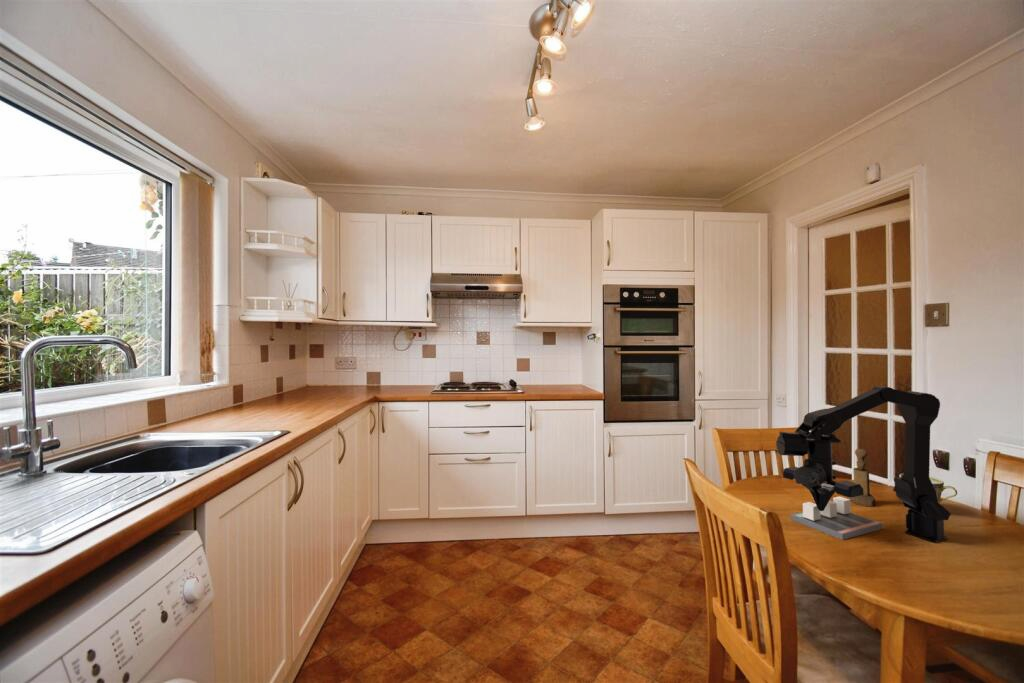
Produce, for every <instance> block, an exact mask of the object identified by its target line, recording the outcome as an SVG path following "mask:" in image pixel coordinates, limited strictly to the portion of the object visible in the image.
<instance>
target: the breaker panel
mask: <svg viewBox="0 0 1024 683" xmlns="http://www.w3.org/2000/svg"><path fill="white" fill-rule="evenodd" d="M790 519H791V520H792V521H794V522H796V523H799V524H802V525H804V526H806V527H809V528H812V529H814V530H817V531H819V532H821V533H824V534H827V535H829V536H831V537H835V538H836V539H839V540H842V541H843V540H847V539H850V538H855V537H858V536H861V535H865V534H868V533H873V532H876V531H879V530H883V529H884V523H883V522H879V521H877V520H873V519H871V518H869V517H865V516H862V515H858V514H855V513H853V512H851V513H848V514H842V513H839V512H837V516H836V517H832V518H829V517H826V516H824V515H821V514H820V519H819V520H815V521H813V520H810V519H808V518H805V517H803V511H800V512H796V513H792V514H790Z"/></svg>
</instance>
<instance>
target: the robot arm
mask: <svg viewBox="0 0 1024 683" xmlns="http://www.w3.org/2000/svg"><path fill="white" fill-rule="evenodd" d="M885 403H892V404H896V405H898V410H899V413H900V415H901V417H902V418H903V420H904V423H905V433H904V434H905V435H904V436H905V438H904V439H905V440H904V445H905V446H904V472H903V473H902V474H903V475H902V477H901V478H900V477H897V476H896V477H894V478H893V482H894V483H893V484H894V488H893V489H892V491H893V492H895V495H896V497H897V499H899V500H900V501H901V502H902V504H903V507H904V508H907V513H906V514H905V528H906V529H905V530H904V533H905V534H908V535H912V536H915V537H918V538H919V539H920V538H921V539H923V540H926V541H929V542H932V543H939V542H941V541H944V540H948V538H949V537H948V536H947V535H945V524H944V522H945V521H949V518H950V517H951V512H950V511H949V510H948V509H947V508H945V507H944V506H943V505H942V504H941V503H938V498H937V493H936V489H935V488H934V486H933V484H932V482H931V480H930V478H929V476H930V460H931V459H930V457H931V456H930V455H931V454H930V453H931V426H932V425H933V423H934V422H935V421H936V420H937V418H938V415H939V412H940V407H941V402H940V400H939V398H938V397H936V396H935V395H934V394H931V393H927V392H921V391H920V392H919V391H914V390H907V391H904V390H899V389H894V388H892V387H890V386H883V385H877V386H873V387H872V388H871V389H870V390H867V391H865V392H863V393H860V394H859V395H856V396H855V397H853V398H850V399H848V400H846V401H844V402H841V403H840V404H838V405H835V406H832V407H829V408H821V409H818V410H815V411H811V412H807V413H806V414H805V415H804V416H803V417H804V418H803V421H802V422H801V423H800V425H799V426H798V427H797V428H796V430H795V431H794V432H787V431H779V432H778V433H779V435H778V436H777V440H776V442H775V443H776V450H777V452H778V454H779V455H780V456H791V457H792V456H793V457H804V456H807V458H804V461H803V465H802V466H800V467H799V466H798V467H797V466H790V467H785V468H784V469H783V471H782V477H783V478H784V479H788V480H791V481H792V480H794V481H795V483H796V484H798V485H802V487H805V488H806V489H807V490H808V492H809V493H810V494H811V496H812V498H813V500H814V504H816V505H817V508H818V510H820V511H824V509H825V507H826V505H827V504H828V502H829V501H831V498H833V496H834V494H837V495H840V496H842V497H845V498H849V497H856V496H860V495H863V488H862V486H861V485H860V484H857V483H854V481H850V480H842V481H835V480H836V479H837V476H836V475H835V474H833V472H834V471H833V466H836V460H833V443H835V444H837V443H838V444H839V443H841V442H842V441H841V440H840V439H839V438H837V436H836V435H835V434H834V432H836V431H837V430H839V429H840V428H841V427H842V426H843V424H844V423H846V422H847V421H848V420H850V419H852V418H855V417H857V416H859V415H861V414H864V413H867V412H868V411H871V410H872V409H874V408H876V407H879V406H881V405H884V404H885Z"/></svg>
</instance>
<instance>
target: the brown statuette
mask: <svg viewBox="0 0 1024 683" xmlns="http://www.w3.org/2000/svg"><path fill="white" fill-rule="evenodd" d="M854 454H855V456H856V458H857V461H856V466H857V467H854V468H853V482H854V483H857V484H860V485H861V486H862V488H863V495H860V496H856V497H848V499H850V501H851V502H850V503H851V504H855V505H858V506H862V507H875V506H876V498H875V496H874V495H872V494H871V493H870V491H871V490H870V471H869V469H867V468H865V467H866V462H865V461H864V460H865V458H867V456H868V453H867V451H866V449H864V448H856V449H855V451H854Z"/></svg>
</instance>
